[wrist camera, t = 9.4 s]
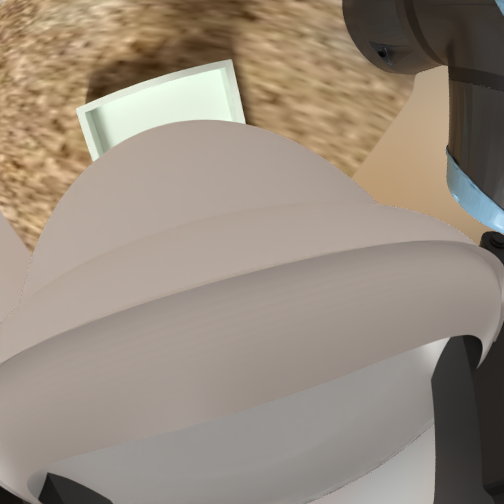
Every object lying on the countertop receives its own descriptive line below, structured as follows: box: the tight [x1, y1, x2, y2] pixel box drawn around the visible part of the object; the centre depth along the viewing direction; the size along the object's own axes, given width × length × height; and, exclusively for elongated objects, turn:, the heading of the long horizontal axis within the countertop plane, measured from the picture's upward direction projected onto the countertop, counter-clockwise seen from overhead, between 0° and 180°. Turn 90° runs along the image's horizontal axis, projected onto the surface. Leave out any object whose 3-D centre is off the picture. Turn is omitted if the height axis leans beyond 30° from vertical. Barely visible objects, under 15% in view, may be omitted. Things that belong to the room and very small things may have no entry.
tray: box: [76, 59, 246, 162], centre depth 27 cm, size 14×15×4 cm
